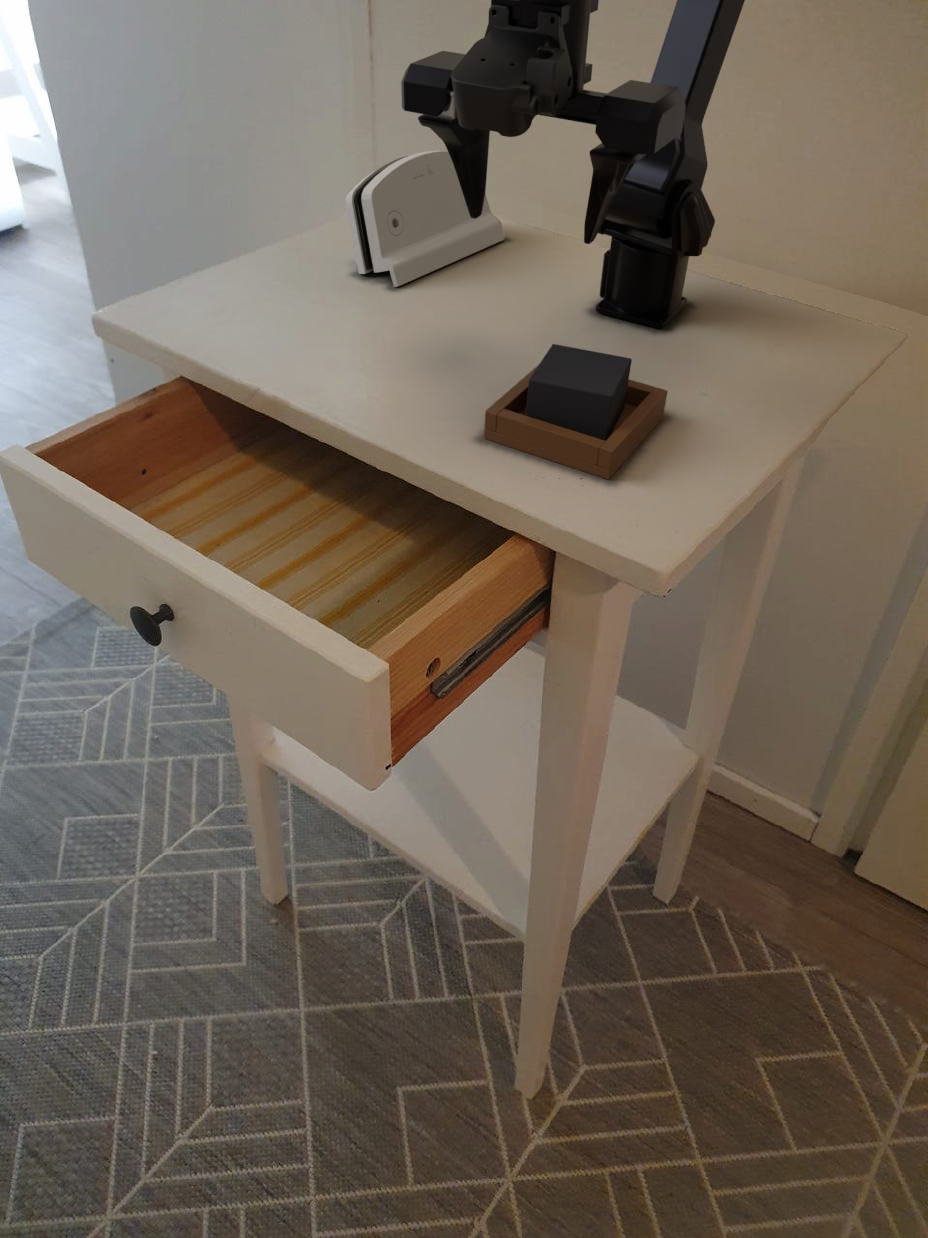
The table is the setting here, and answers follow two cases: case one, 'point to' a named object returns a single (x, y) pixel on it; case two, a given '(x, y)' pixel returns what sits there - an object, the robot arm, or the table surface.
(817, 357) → the table surface
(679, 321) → the table surface
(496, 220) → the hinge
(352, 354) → the table surface
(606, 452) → the shallow brown tray
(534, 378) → the black block
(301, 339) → the table surface
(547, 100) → the robot arm
